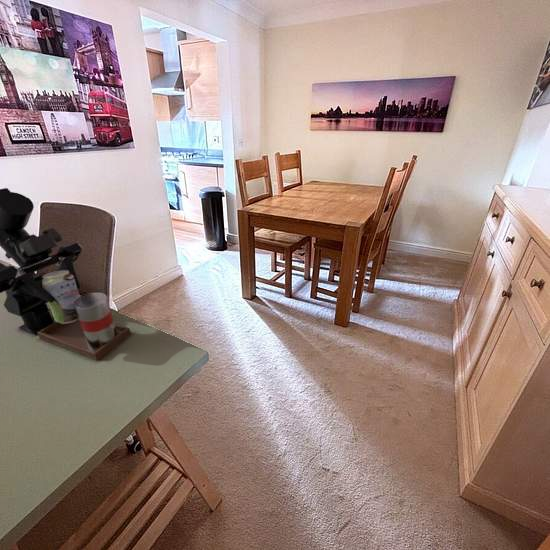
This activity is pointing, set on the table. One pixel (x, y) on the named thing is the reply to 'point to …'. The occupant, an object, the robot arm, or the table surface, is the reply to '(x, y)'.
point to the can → (95, 319)
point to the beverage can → (62, 295)
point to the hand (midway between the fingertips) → (66, 294)
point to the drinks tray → (79, 338)
